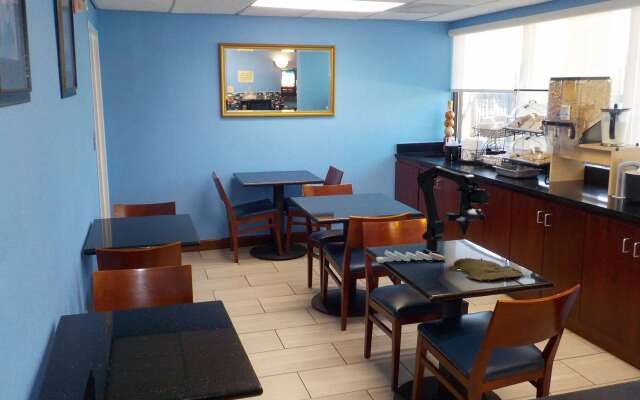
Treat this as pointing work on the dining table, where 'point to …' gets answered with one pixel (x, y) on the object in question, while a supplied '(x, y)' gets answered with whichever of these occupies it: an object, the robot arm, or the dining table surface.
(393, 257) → the domino
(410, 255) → the domino
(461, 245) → the dining table surface
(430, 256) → the domino
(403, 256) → the domino
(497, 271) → the bark
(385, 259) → the domino
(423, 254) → the domino
